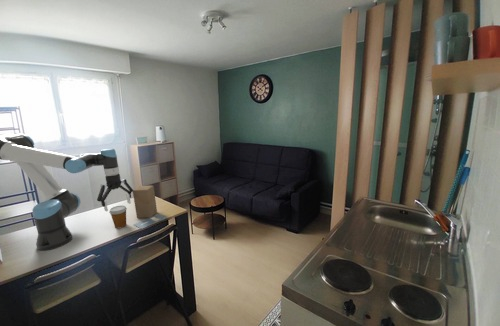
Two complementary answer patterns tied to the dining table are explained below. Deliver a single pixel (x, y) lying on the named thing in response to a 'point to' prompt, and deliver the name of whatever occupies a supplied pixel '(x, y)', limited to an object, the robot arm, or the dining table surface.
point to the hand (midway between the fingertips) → (118, 206)
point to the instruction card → (149, 221)
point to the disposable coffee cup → (118, 216)
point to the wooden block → (144, 201)
